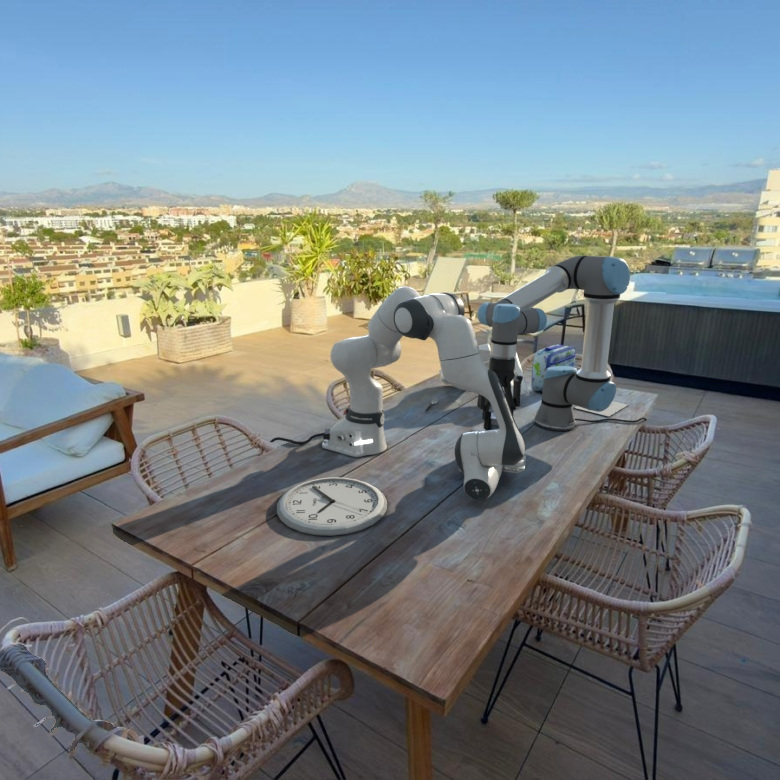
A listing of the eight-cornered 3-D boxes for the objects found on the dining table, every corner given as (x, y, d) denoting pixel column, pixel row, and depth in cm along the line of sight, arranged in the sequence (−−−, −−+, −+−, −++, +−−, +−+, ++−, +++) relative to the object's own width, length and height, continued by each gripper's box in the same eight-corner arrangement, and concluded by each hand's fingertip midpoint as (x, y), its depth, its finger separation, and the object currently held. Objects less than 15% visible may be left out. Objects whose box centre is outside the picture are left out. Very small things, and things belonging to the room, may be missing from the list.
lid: (493, 426, 158) (493, 420, 158) (483, 419, 164) (484, 413, 163) (511, 424, 160) (511, 418, 159) (501, 417, 166) (501, 411, 165)
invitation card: (608, 416, 214) (573, 407, 224) (608, 416, 214) (573, 408, 224) (628, 404, 229) (594, 396, 238) (628, 405, 229) (594, 397, 238)
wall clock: (392, 527, 129) (268, 531, 127) (391, 533, 130) (269, 537, 127) (383, 473, 158) (282, 475, 155) (383, 478, 158) (282, 480, 156)
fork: (422, 411, 216) (422, 407, 215) (433, 400, 230) (433, 396, 230) (428, 412, 215) (429, 407, 215) (438, 401, 230) (439, 396, 229)
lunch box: (547, 397, 237) (552, 352, 231) (526, 391, 245) (531, 348, 238) (574, 386, 255) (580, 344, 249) (554, 381, 262) (559, 340, 256)
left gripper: (524, 462, 149) (529, 444, 161) (454, 450, 155) (464, 434, 168) (522, 482, 151) (527, 462, 163) (453, 470, 157) (463, 452, 170)
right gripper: (525, 352, 162) (518, 422, 169) (468, 355, 157) (463, 427, 164) (537, 358, 155) (530, 430, 162) (478, 361, 150) (473, 436, 157)
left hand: (495, 448), depth 165 cm, fingers closed on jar, 5 cm apart
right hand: (496, 428), depth 163 cm, fingers closed on lid, 6 cm apart
